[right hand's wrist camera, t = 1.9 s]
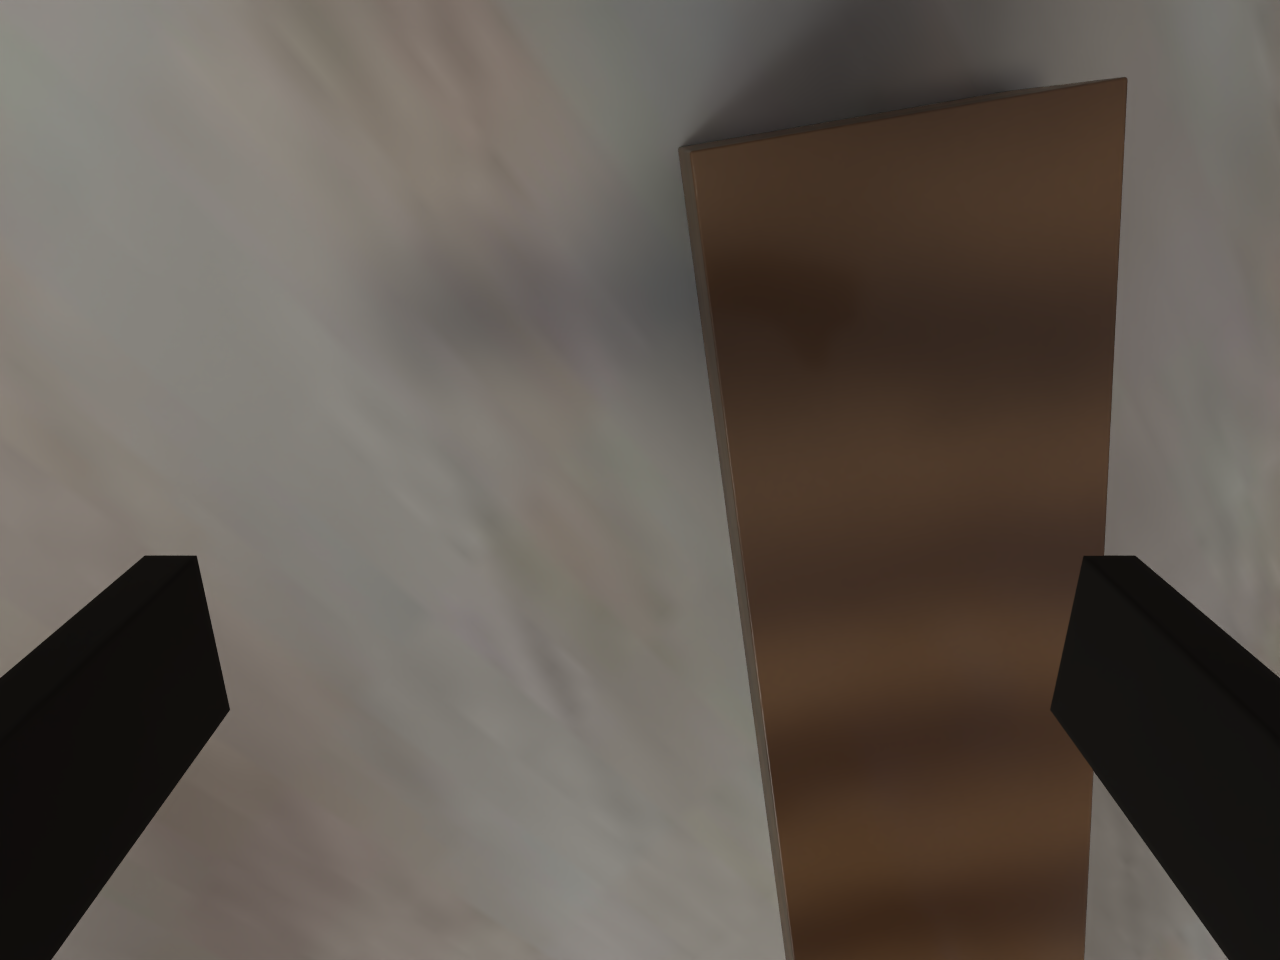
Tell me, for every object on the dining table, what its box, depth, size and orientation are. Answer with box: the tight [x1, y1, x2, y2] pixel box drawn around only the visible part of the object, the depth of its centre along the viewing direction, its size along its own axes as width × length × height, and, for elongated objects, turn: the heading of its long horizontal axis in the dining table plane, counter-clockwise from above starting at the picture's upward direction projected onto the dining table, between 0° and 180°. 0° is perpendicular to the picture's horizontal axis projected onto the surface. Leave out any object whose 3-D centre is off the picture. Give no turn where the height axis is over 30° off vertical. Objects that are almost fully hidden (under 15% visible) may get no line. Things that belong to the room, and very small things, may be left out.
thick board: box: [678, 77, 1127, 960], centre depth 32 cm, size 51×10×6 cm, turn 9°
